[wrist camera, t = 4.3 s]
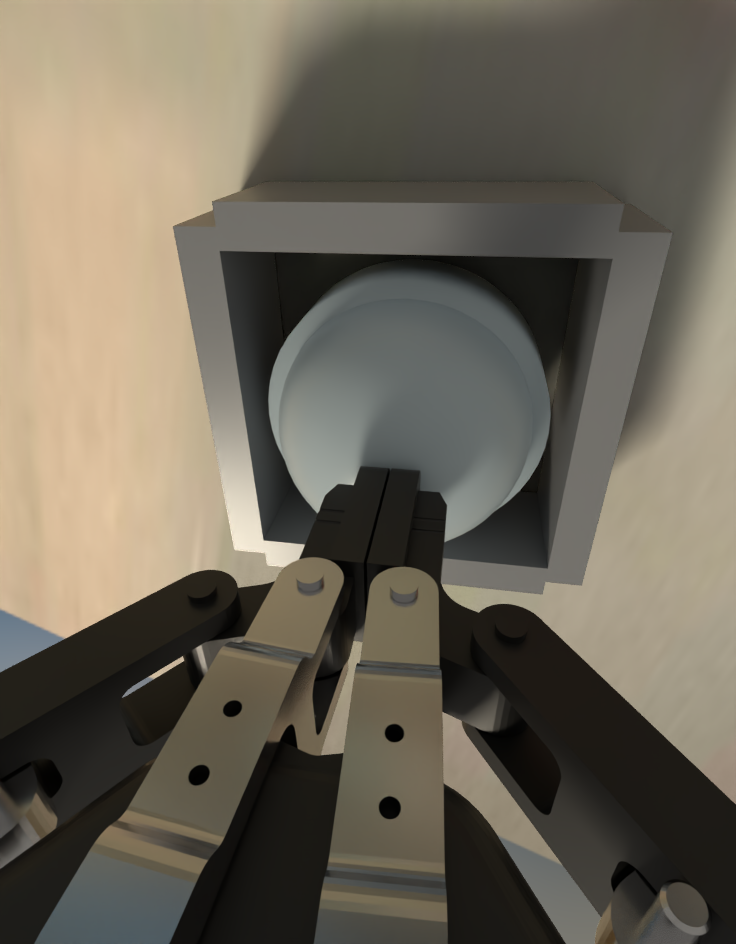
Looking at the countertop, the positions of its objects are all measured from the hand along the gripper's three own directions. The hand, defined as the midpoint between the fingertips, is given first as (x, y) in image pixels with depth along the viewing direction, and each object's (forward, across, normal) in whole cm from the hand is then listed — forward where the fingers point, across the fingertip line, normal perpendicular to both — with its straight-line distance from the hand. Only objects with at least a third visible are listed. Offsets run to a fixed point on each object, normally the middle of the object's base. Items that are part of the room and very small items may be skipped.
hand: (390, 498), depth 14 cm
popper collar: (+8, 0, 0) cm, 8 cm away
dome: (+8, 0, 0) cm, 8 cm away
